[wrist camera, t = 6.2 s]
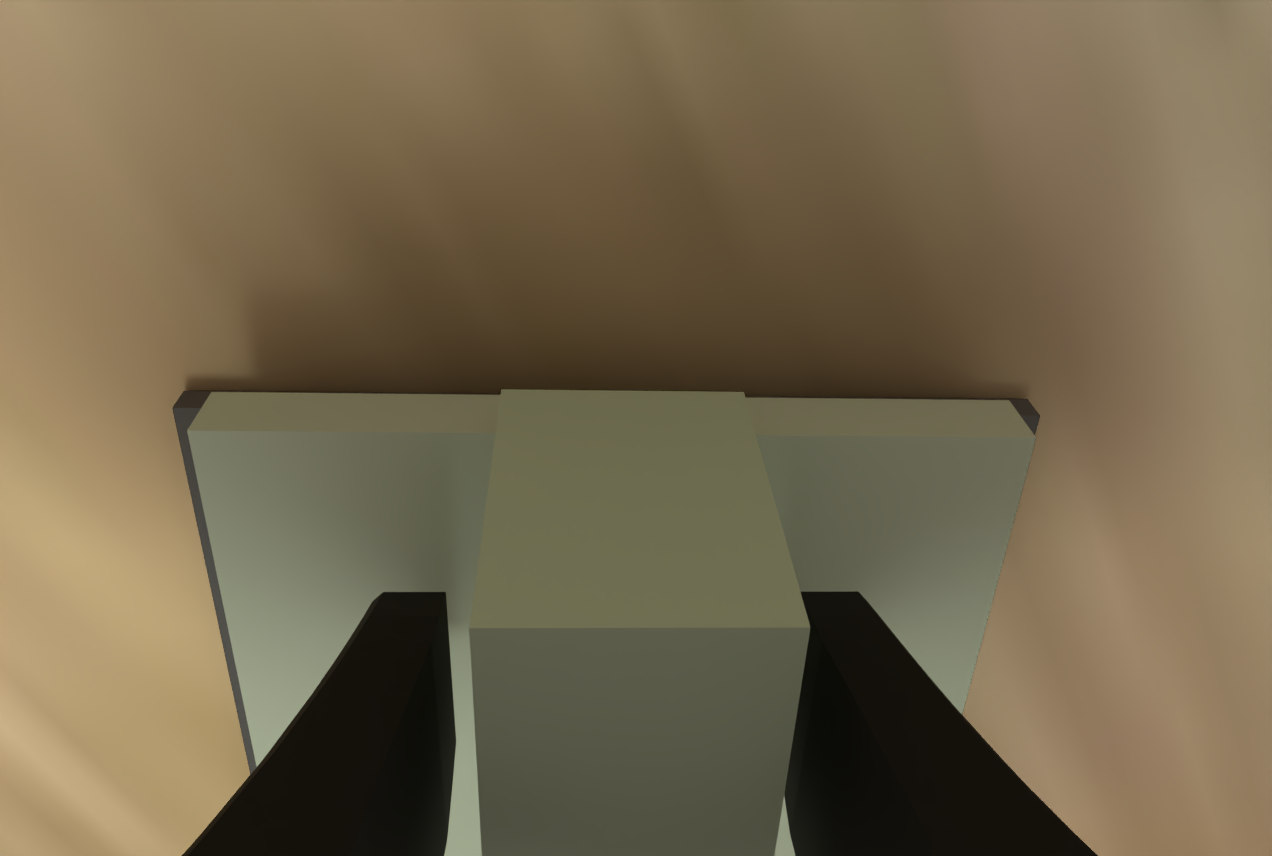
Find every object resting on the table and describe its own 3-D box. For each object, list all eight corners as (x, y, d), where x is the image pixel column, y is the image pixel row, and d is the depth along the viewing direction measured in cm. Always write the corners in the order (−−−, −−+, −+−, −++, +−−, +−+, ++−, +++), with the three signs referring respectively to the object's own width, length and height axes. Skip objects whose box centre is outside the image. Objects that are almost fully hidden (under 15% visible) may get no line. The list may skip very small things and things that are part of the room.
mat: (1027, 399, 13) (1040, 416, 12) (885, 952, 18) (891, 974, 18) (183, 390, 12) (172, 407, 12) (301, 965, 18) (296, 988, 17)
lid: (999, 335, 12) (1233, 626, 8) (858, 942, 17) (947, 1302, 13) (220, 325, 11) (8, 628, 7) (331, 953, 17) (250, 1332, 13)
